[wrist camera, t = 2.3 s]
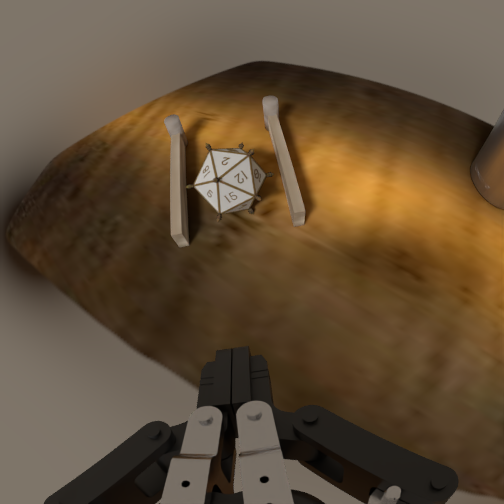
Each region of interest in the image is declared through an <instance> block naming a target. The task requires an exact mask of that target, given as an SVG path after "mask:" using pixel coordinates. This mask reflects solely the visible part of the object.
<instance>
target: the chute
mask: <svg viewBox="0 0 504 504" xmlns="http://www.w3.org/2000/svg"><path fill="white" fill-rule="evenodd" d="M263 110H264V120H265V128H266V130H268V131H269V132H270V136H271V140H272V143H273V147H274V151H275V155H276V158H277V162H278V166H279V170H280V174H281V177H282V181H283V185H284V189H285V193H286V197H287V201H288V205H289V209H290V213H291V218H292V222H293V226H294V227H295V226H301V225H304V221H305V208H304V204H303V201H302V197H301V193H300V190H299V186H298V183H297V179H296V176H295V172H294V169H293V166H292V162H291V159H290V156H289V152H288V149H287V146H286V142H285V139H284V136H283V133H282V130H281V126H280V123H279V112H278V99H277V98H276V97H275V96H266V97H264V98H263ZM164 123H165V125H166V127H167V130H168V132H169V134H170V137H171V166H170V208H171V236H172V238H173V239H174V240H175V242H176V243H177V245H178V246H179V247H184V246H189V231H188V213H187V190H186V157H185V147H186V146H187V144H188V141H187V138H186V136H185V133H184V130H183V128H182V125H181V122H180V120H179V117H178V116H177V115H170V116H168V117H167V118H166V119H165V121H164Z"/></svg>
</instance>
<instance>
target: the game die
mask: <svg viewBox="0 0 504 504" xmlns="http://www.w3.org/2000/svg"><path fill="white" fill-rule="evenodd" d="M243 146H244V145H243V142H242V143H241V144H239V148H229V149H211V146H210V144H207V143H206V148H207V149H208V150H209V152H208V154H207V156H206V158H205V160H204V162H203V164H202V167H201V169H200V171H199V173H198V175H197V177H196V180H195V182H194V184H188V185H187V186H186V188H188V189H190V188H191V189H192V188H195V189H196V190H197V191H198V192H199V193H200V195H201V196H202V197H203V198H204V199H205V200H206V201H207V202H208V203H209V204H210V205H211V206H212V207H213V209H214V210H215V211H216V212H217V213H218V215H217V218H216V219H217V222H219V221H220V220H221V218H222V217H221V215H222V214H227V213H232V212H237V211H242V210H247V209H248V210H249V211H248V212H249V213H251V214H253V210H252V209H251V206H252V204H253V202H254V200H255V199H256V200H257V201H261V196H259V195H257V194H258V192H259V190H260V189H261V187H262V185H263V183H264V181H265V179H266V177H267V176H268V177H272V176H273V175H274V174H273V173H271V172H270V173H269V172H268V173H267V174H266V173H265V172H264V170H263V169H262V168H261V167H260V166H259V164H258V163H257V162H256V161H255V160H254V159H253V157H252V156H251V155H253V154H254V149H252V150H251V149H250V151H249V152H248V153H247V152H245V151H244V150H242V148H243Z"/></svg>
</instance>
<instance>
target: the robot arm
mask: <svg viewBox="0 0 504 504" xmlns="http://www.w3.org/2000/svg"><path fill="white" fill-rule="evenodd" d="M470 170H471V177H472V180H473V182H474V185H475V186H476V188H477V190H478V191H479V192H480V194H481V195H482V196H483V197H484V198H485V199H486V200H487V201H488V202H490V203H491V204H492V205H494V206H496V207H498V208H501V209H504V110H503V112H502V113H501V116H500V117H499V119H498V121H497V123H496V125H495V126H494V128H493V130H492V131H491V133H490V135H489V137H488V138H487V140H486V142H485V143H484V145H483V146H482V148H481V150H480V151H479V153H478V155H477V156H476V158H475V160H474V161H473V163H472V165H471V169H470ZM235 438H239V444H240V454H239V464H240V474H241V481H242V490H243V491H241V492H238V493H234V475H235V464H236V448H235ZM283 459H290V460H298V461H299V463H300V464H301V465H303V466H304V467H306V468H307V469H309V470H310V471H312V472H314V473H315V474H316V475H318V476H320V477H321V478H323V479H324V480H326V481H327V482H329V483H331V484H332V485H334V486H335V487H337V488H339V489H340V490H342V491H344V492H346V493H347V494H349V495H351V496H352V497H354V498H356V499H358V500H359V501H361V502H363V503H365V504H445V503H446V502H447V501H448V499H449V498H450V497H451V496H452V495H453V493H454V492H455V491H456V489H457V487H458V476H457V474H456V473H455V471H454V470H452V469H451V468H449V467H447V466H444V465H442V464H439V463H437V462H434V461H432V460H429V459H427V458H425V457H422V456H420V455H418V454H415V453H413V452H411V451H409V450H406V449H404V448H402V447H400V446H398V445H395V444H393V443H391V442H389V441H387V440H385V439H383V438H381V437H379V436H376V435H374V434H372V433H370V432H368V431H366V430H364V429H362V428H360V427H358V426H356V425H355V424H353V423H351V422H349V421H347V420H345V419H343V418H341V417H339V416H337V415H335V414H334V413H332V412H330V411H328V410H326V409H324V408H323V407H320V406H317V405H308V406H304V407H302V408H300V409H298V410H297V411H296V412H295V413H291V412H284V411H281V410H279V409H277V408H276V407H275V406H274V404H273V396H272V388H271V381H270V376H269V371H268V366H267V361H266V360H265V359H264V358H263V356H262V355H257V356H251V353H250V349H249V346H245V347H238V348H233V349H224V350H217V351H216V359H215V361H214V362H207V363H206V365H205V366H204V368H203V369H202V372H201V380H200V387H199V394H198V402H197V409H196V410H194V411H193V412H192V413H191V415H190V416H189V419H188V421H186V422H185V423H182V424H179V425H176V426H172V427H169V425H168V424H166V423H164V422H162V421H154V422H150V423H148V424H146V425H145V426H143V427H142V428H141V429H140V430H138V431H137V432H136V433H135V434H133V435H132V436H131V437H130V438H128V439H127V440H126V441H124V442H123V443H122V444H121V445H119V446H118V447H117V448H115V449H114V450H113V451H112V452H110V453H109V454H108V455H106V456H105V457H104V458H102V459H101V460H100V461H98V462H97V463H96V464H94V465H93V466H92V467H90V468H89V469H88V470H86V471H85V472H83V473H82V474H81V475H79V476H78V477H77V478H75V479H74V480H72V481H71V482H69V483H68V484H67V485H65V486H64V487H62V488H61V489H60V490H58V491H57V492H55V493H54V494H53V495H51V496H49V497H48V498H47V499H46V500H45V502H44V504H155V503H157V502H158V501H159V500H160V499H161V498H162V499H161V503H159V504H325V503H324V502H322V501H321V500H319V499H318V498H316V497H314V496H312V495H310V494H308V493H305V492H301V491H297V490H291V489H290V485H289V481H288V477H287V473H286V468H285V464H284V460H283Z"/></svg>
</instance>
